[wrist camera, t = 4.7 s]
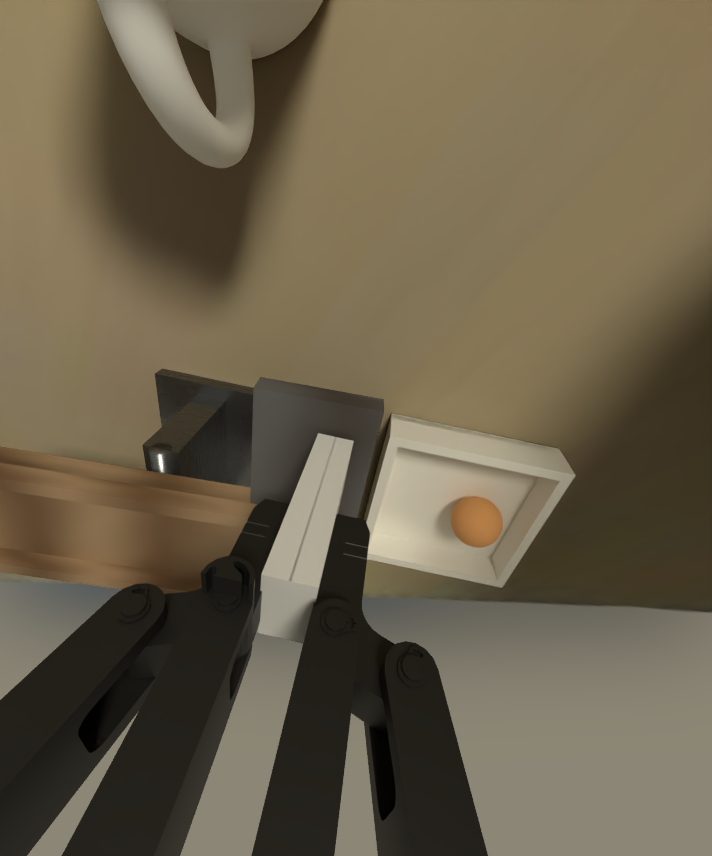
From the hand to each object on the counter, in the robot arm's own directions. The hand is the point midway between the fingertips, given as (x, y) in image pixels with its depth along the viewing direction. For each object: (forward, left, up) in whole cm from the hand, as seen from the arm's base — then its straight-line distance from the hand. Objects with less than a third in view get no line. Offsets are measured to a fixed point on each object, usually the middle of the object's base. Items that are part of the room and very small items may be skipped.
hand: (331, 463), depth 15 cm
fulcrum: (-8, -7, -8) cm, 13 cm away
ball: (+10, -7, -6) cm, 13 cm away
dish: (+8, -7, -8) cm, 13 cm away
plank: (-8, -4, -1) cm, 9 cm away
